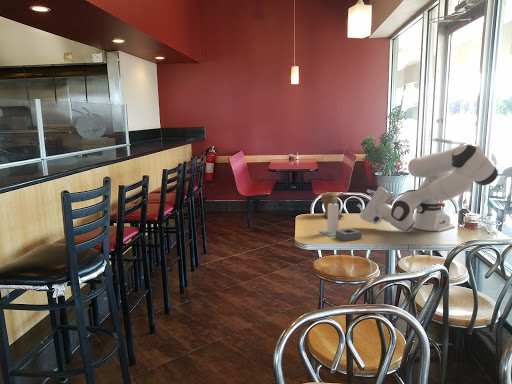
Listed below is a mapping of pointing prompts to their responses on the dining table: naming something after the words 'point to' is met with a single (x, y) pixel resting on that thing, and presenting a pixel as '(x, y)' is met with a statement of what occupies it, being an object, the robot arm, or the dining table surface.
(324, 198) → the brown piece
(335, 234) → the mat
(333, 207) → the plug
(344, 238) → the grey socket block
